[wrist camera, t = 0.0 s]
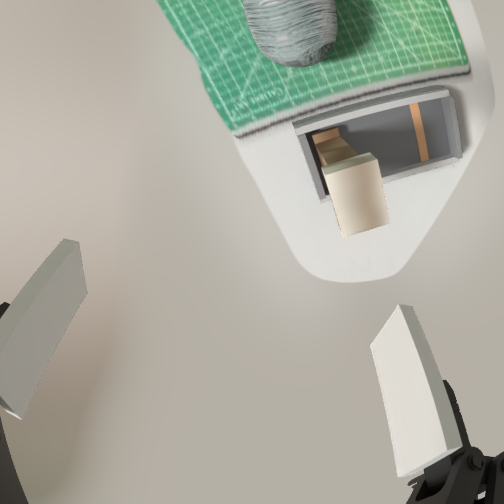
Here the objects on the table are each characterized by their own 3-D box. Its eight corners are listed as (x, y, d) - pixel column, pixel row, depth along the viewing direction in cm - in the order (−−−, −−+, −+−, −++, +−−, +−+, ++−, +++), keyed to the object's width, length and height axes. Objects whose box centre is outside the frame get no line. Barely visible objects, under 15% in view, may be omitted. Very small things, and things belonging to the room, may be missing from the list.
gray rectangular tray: (317, 194, 38) (322, 207, 35) (292, 122, 33) (295, 128, 30) (448, 155, 34) (463, 164, 30) (435, 85, 29) (451, 89, 25)
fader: (323, 189, 36) (344, 242, 26) (304, 135, 32) (323, 169, 22) (356, 178, 34) (390, 227, 25) (341, 124, 31) (376, 153, 21)
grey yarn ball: (356, 72, 27) (328, 46, 19) (276, 80, 31) (226, 64, 24) (339, -26, 22) (305, -69, 14) (267, -11, 27) (219, -42, 19)
